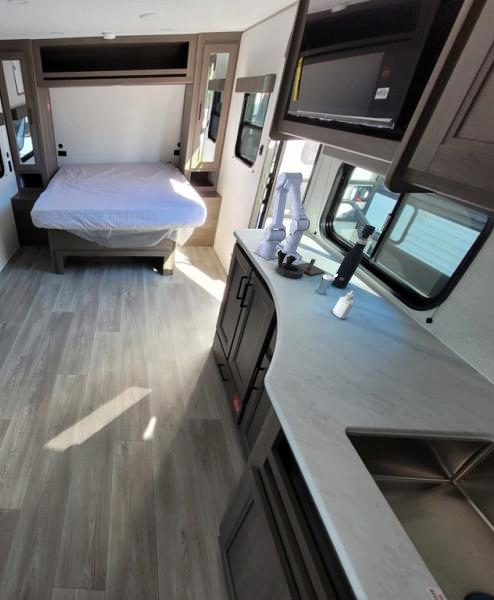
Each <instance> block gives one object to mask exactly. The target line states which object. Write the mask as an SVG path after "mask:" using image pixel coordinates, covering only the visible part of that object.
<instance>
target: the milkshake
mask: <svg viewBox="0 0 494 600" xmlns="http://www.w3.org/2000/svg"><path fill="white" fill-rule="evenodd" d="M337 275H338V274H337ZM337 275H336V276H337ZM336 276H335V275H334V276H333V275H331V274H324V275H323V274H322V277H321V281H320V283H319V285H318V288H317V290H316V292H317V293H318V294H320V295H325V294H326V293H327V292H328V290H329V289H330V286H332V285H331V284H332V282H333V281H334V278H335V277H336Z"/></svg>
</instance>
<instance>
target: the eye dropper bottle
mask: <svg viewBox="0 0 494 600" xmlns="http://www.w3.org/2000/svg"><path fill="white" fill-rule="evenodd" d="M354 293H355V291H354V290H351V291H350V292H347V293H346V295H345V296H344V295H343V296H340V297H339V299H338V301H337V302H336V303H335V306H334V307H333V309H332V313H333V314H334V316H335V317H337V318H339V319H342V320H343V319H346V318H347V317H348V315H349V313H350V312H351V310H352V308H353V306H354V302H353V301H354V300H353V299H354V297H355V294H354Z"/></svg>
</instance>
